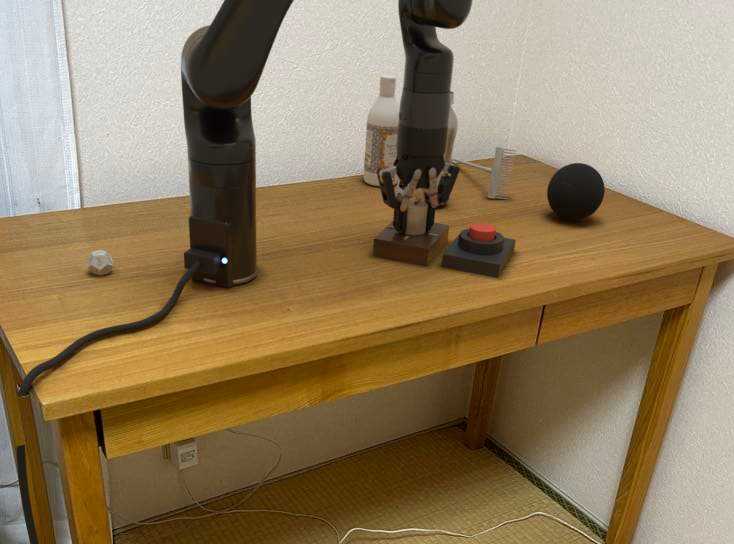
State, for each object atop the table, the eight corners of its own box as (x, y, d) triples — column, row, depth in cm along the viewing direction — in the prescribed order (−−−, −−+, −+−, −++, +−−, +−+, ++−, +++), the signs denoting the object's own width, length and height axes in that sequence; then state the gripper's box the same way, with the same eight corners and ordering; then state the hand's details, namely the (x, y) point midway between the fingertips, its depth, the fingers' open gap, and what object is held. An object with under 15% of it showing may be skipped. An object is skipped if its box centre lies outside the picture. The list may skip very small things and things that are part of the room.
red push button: (491, 244, 127) (492, 233, 126) (466, 239, 128) (467, 229, 127) (496, 236, 130) (498, 225, 129) (472, 231, 131) (473, 221, 130)
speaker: (593, 212, 154) (605, 158, 149) (602, 230, 146) (614, 174, 141) (540, 207, 155) (549, 154, 150) (545, 225, 146) (556, 169, 141)
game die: (117, 274, 119) (115, 255, 117) (92, 279, 117) (89, 259, 115) (109, 266, 121) (107, 246, 120) (84, 270, 119) (82, 250, 118)
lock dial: (421, 237, 130) (424, 207, 127) (397, 233, 131) (399, 203, 128) (428, 229, 133) (431, 200, 130) (404, 225, 134) (407, 196, 131)
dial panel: (427, 267, 127) (429, 247, 126) (372, 256, 130) (373, 237, 128) (447, 242, 137) (449, 224, 135) (396, 233, 139) (398, 215, 138)
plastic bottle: (455, 203, 155) (469, 92, 144) (439, 212, 150) (452, 97, 139) (425, 196, 157) (436, 86, 147) (408, 204, 152) (418, 91, 142)
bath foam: (376, 189, 159) (384, 80, 149) (356, 179, 164) (362, 73, 154) (404, 184, 163) (414, 78, 152) (384, 175, 168) (392, 71, 157)
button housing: (498, 278, 125) (501, 253, 123) (441, 267, 127) (444, 242, 125) (513, 252, 134) (517, 228, 132) (460, 242, 137) (463, 219, 135)
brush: (459, 181, 183) (466, 137, 180) (507, 200, 158) (517, 149, 155) (443, 180, 182) (450, 135, 179) (489, 198, 157) (498, 147, 154)
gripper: (393, 129, 117) (384, 243, 126) (477, 123, 122) (463, 233, 131) (369, 117, 123) (363, 227, 132) (451, 112, 128) (439, 218, 137)
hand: (413, 229), depth 132 cm, fingers closed on lock dial, 4 cm apart
